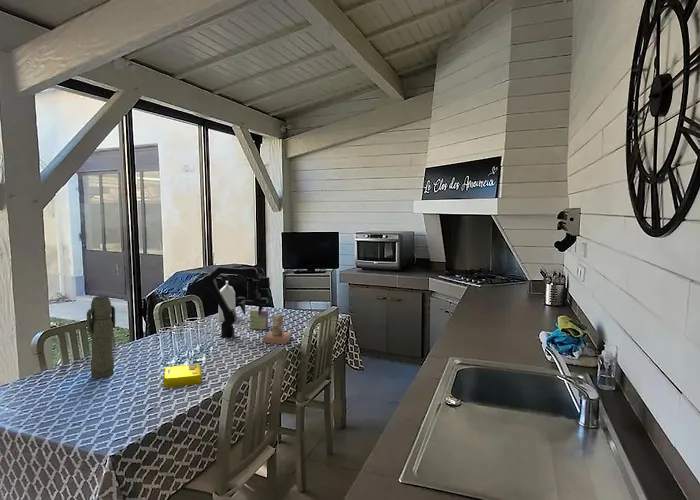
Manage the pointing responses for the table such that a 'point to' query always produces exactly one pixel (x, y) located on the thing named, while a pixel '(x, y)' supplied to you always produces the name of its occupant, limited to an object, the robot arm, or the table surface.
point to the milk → (227, 300)
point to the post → (277, 325)
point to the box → (258, 319)
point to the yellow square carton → (182, 375)
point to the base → (277, 338)
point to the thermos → (101, 336)
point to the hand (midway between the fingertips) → (252, 314)
